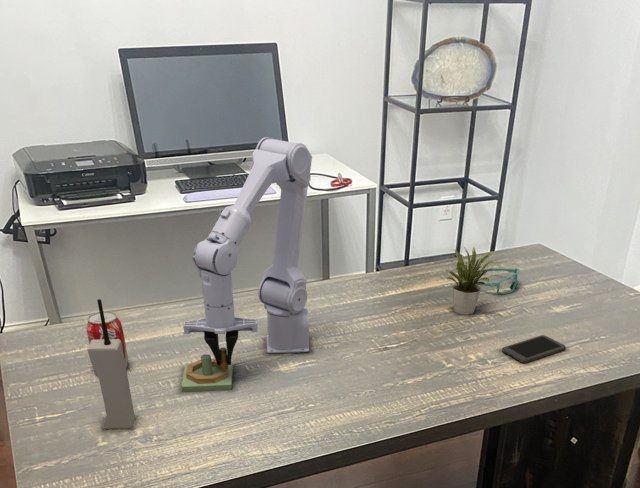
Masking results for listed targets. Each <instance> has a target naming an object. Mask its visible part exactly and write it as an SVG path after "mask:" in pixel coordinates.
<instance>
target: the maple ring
mask: <svg viewBox="0 0 640 488" xmlns="http://www.w3.org/2000/svg"><path fill="white" fill-rule="evenodd" d="M219 349H220V359H221V365H217V362H216V359H215V358H211V363H212V367H214V366H215V367H217V368H219V369H221V370H222V371H221V372H219V373H217V374H215V375H213V376H199V375H197V374H195V373H193V371H195V370H197V369H199V368H201V367H202V362H201V359H198V360H196V361H194V362H191V363H192V364H190V365H188V366H187V371H186V377H187V379H189V380H191V381H193V382H195V383H197V384H208V383H217V382H219V381H221V380H222V379H224V378H226V377H228V364H227V347H219Z"/></svg>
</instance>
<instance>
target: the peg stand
mask: <svg viewBox="0 0 640 488" xmlns="http://www.w3.org/2000/svg"><path fill="white" fill-rule="evenodd" d="M211 359H212V356H211V354H208V353H207V354H205V353H204V354H202V355H201V356H200V360H201V362H202V367H201V368H199V369H197V370H195V371H193V373H195V374H197V375H199V376H213V375H215V374H217V373H219V372H221V371H222V370H221V369H219V368H217V367H215V366H214V367H212V363H211ZM192 363H193V362H186V363H184V369H183V373H182V374H183V375H182V380H181V385H180V387H181V392H203V391H207V392H208V391H228V390H229V391H230V390H233V374H234V373H233V372H234V371H233V370H234V363H233V361H231V365H228V377H226V378H224V379H222V380H221V381H219V382H217V383H208V384H197V383H195V382H193V381H191V380H189V379H187V377H186V371H187V366H188V365H190V364H192Z"/></svg>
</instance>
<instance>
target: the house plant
mask: <svg viewBox="0 0 640 488" xmlns="http://www.w3.org/2000/svg"><path fill="white" fill-rule="evenodd" d="M464 250H465V252H466V255H467V262H465V261H464V259H463V256H462V255H461V254H460V253H459V252H458V250H457V249H454V248H453V251H454V253H455V255H456V258H457V262H456V265H455V263H453V261H452V260H451V259H449V258H448V257H444V258H445V259H448V261H450V262H451V263H452V264H453V265H454V266H456V267H455V269H456V270H457V273H455V272H453V271H452V270H449V269H446V271H447V272H449V273H450V275H451V276H446V277H445V279H448V280H450V281H453V282H454V284H453V285H452V298H453V300H452V302H453V311H454V313H456V314H458V315H464V316H465V315H466V316H467V315H472V314H474V313H475V309H476V307H477V304H478V300H479V296H480V294H481V290H482V288H481V287H480V285H476V284H483V285H482V286H485V287H487V286H486V285H485V283H486V282H487V283H490V279H489V278H488V277H483V276H484V275H485V274H486V273H488V272H490V271H489V270H492V269H490V268H487V269H488V270H485V269H486V267H487V266H488V265H490V264H500V262H498V261H496V259H492V260H489V261H488V262H486V263H485V264H484V265H483V263H484V262H485V261H486V260H487V259H488V258H489V257H490V256H491V255H494V254H496V253H497V251H492V252H489V253H487V254H485V255H484V256H483V257H481V258H479V259H477V252H476V248H475V247H472V251H471V256H470V253H469V251H468V250H467V249H466V248H464ZM480 268H481V269H480ZM483 270H485V271H484V272H483ZM481 272H482V273H481ZM452 276H453V277H452ZM484 281H486V282H484Z"/></svg>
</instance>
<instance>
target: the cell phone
mask: <svg viewBox="0 0 640 488" xmlns="http://www.w3.org/2000/svg"><path fill="white" fill-rule="evenodd" d="M565 350H566V345H565V344H563V343H561V342H559V341H557V340H555V339H553V338H551V337H549V336H547V335H544V334H542V335H538V336H535V337H532V338H529V339H525V340H522V341H519V342H516V343H512V344H509V345H507V346H502V348H501V351H502V352H503V353H504V354H506V355H507V356H509V357H512V358H513V359H514V360H517V361H518V362H520V363H523V364H527V363H530V362H533V361H535V360H538V359H542V358H544V357H548V356H551V355H554V354H556V353H559V352H562V351H565Z"/></svg>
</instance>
